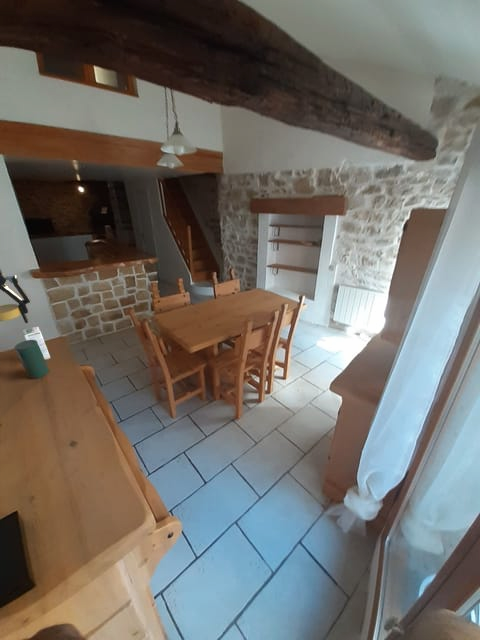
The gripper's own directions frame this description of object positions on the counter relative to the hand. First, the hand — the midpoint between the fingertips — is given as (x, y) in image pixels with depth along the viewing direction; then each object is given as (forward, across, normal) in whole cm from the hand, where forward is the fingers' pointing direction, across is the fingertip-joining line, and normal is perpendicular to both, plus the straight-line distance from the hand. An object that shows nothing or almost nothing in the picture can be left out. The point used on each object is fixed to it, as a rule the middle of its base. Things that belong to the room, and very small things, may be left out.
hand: (10, 324), depth 90 cm
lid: (-6, 0, 0) cm, 6 cm away
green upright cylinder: (+25, -1, -4) cm, 25 cm away
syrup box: (+25, -2, -16) cm, 30 cm away
